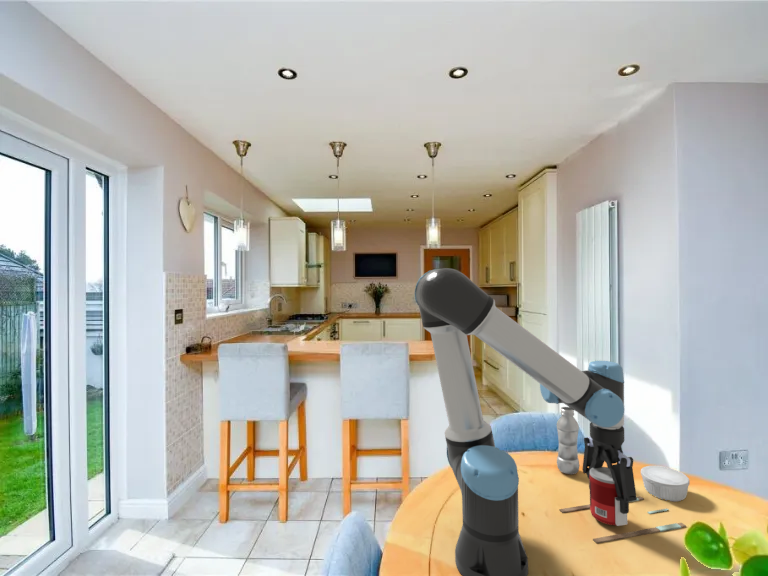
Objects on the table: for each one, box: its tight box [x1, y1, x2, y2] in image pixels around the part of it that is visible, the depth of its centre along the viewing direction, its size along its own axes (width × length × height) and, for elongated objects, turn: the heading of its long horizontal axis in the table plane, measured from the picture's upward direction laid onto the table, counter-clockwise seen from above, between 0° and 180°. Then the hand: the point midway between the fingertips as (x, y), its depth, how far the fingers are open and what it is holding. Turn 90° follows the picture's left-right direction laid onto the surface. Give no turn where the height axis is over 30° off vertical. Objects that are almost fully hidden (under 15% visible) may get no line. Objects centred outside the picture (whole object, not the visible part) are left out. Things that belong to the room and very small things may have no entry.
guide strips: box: [559, 496, 687, 544], centre depth 101 cm, size 27×14×1 cm, turn 102°
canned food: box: [588, 466, 623, 526], centre depth 99 cm, size 8×8×11 cm
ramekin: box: [640, 465, 690, 502], centre depth 111 cm, size 11×11×5 cm
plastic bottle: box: [556, 406, 580, 475], centre depth 124 cm, size 6×7×20 cm
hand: (608, 513), depth 100 cm, fingers closed on canned food, 8 cm apart
